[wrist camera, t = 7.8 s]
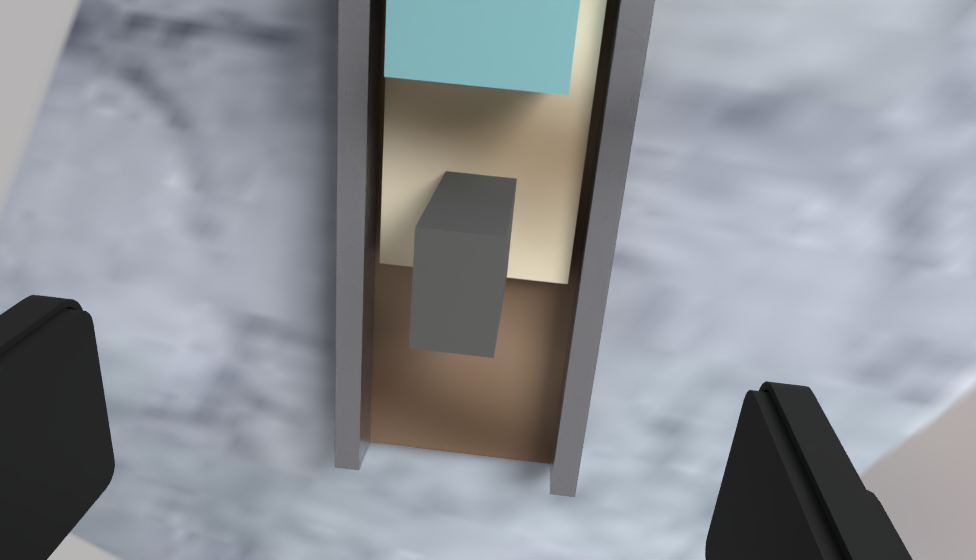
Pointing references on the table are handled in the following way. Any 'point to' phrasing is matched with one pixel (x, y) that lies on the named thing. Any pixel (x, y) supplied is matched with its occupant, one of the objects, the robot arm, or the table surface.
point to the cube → (483, 42)
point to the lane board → (526, 304)
